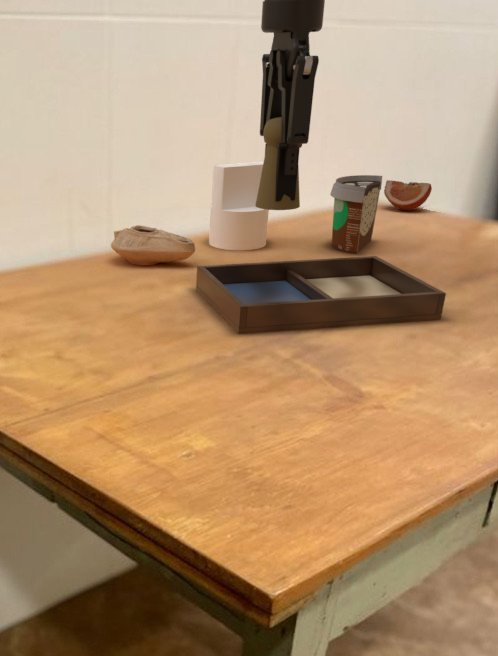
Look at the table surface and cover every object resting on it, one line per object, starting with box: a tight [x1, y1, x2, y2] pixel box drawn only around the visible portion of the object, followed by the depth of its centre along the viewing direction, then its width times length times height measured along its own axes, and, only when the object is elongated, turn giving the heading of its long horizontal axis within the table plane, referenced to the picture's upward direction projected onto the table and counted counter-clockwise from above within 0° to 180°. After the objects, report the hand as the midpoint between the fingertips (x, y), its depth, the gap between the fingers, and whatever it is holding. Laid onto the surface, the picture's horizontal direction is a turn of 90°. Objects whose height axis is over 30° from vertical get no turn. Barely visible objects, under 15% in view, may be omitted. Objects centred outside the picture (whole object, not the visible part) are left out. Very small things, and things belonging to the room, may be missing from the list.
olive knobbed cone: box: [255, 117, 301, 211], centre depth 109 cm, size 6×6×11 cm
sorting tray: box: [195, 255, 447, 335], centre depth 101 cm, size 25×18×4 cm
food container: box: [329, 174, 383, 255], centre depth 125 cm, size 12×6×10 cm, turn 152°
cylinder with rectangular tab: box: [208, 160, 270, 251], centre depth 126 cm, size 9×9×12 cm
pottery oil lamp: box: [110, 224, 196, 266], centre depth 118 cm, size 9×12×7 cm
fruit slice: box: [383, 179, 433, 211], centre depth 152 cm, size 8×7×5 cm
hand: (278, 197), depth 112 cm, fingers closed on olive knobbed cone, 4 cm apart
